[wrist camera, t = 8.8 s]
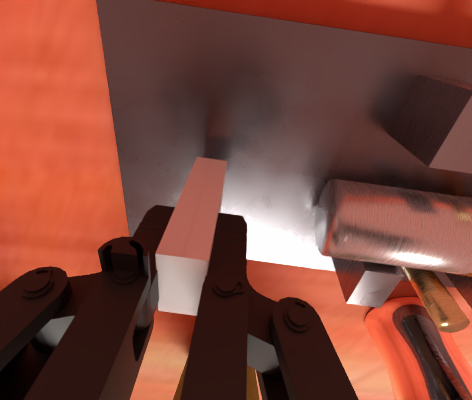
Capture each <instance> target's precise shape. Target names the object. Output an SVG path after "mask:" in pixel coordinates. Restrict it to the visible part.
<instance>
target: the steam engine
mask: <svg viewBox="0 0 472 400" xmlns="http://www.w3.org/2000/svg"><path fill="white" fill-rule="evenodd" d="M96 2H97V9H98V16H99V23H100V30H101V37H102V44H103V51H104V58H105V66H106V73H107V80H108V87H109V94H110V101H111V108H112V115H113V122H114V129H115V136H116V143H117V150H118V157H119V164H120V171H121V178H122V185H123V192H124V199H125V206H126V213H127V220H128V228H129V235H130V237H132V236H133V235H134V233H135V231H136V229H138V226H139V224H140V222H142V219H143V217H144V215H145V214H146V212H147V211H148V210H149V209H151V208H152V207H154V206H155V205H163V206H171V207H176V204H177V202H178V200H179V197H180V195H181V193H182V190H183V188H184V186H185V183H186V181H187V179H188V176H189V174H190V172H191V169H192V167H193V165H194V162H195V160H196V158H197V157H203V158H210V159H216V160H223V161H227V167H226V175H225V183H224V191H223V198H222V206H221V212H220V213H226V214H233V215H240V216H243V217H244V219H245V221H246V223H247V259H250V260H257V261H264V262H272V263H279V264H286V265H294V266H301V267H308V268H316V269H323V270H330V271H336V273H337V276H338V279H339V282H340V285H341V288H342V292H343V295H344V298H345V301H346V303H348V304H355V305H363V306H370V307H378V308H381V306H382V305H383V304H384V302H385V301H386V300H387V298H388V297H389V296H390V294H391V293H392V291H393V290H394V289H395V287H396V286H397V285H398V283H399V282H400V281H401V280H404V281H410V283H411V285H412V286H413V288H414V290H415V291H416V293H417V295H418V296H419V298H420V300H421V301H422V303H423V305H424V306H425V308H426V310H427V311H428V313H429V315H430V316H431V318H432V320H433V321H434V323H435V325H436V326H437V328H438V329H439V330H440V331H442V332H446V333H451V332H457V331H460V330H463V329H465V328H466V327H467V326H468V325H469V323H470V322H469V320H468V318H467V317H466V316H465V314H464V313H463V311H462V310H461V309H460V307H459V306H458V304H457V303H456V302H455V300H454V299H453V298H452V296H451V295H450V293H449V292H448V291H447V289H446V288H445V287H444V286H448V287H455V288H457V290H458V291H459V292H460V294H461V295H462V296H463V298H464V299H465V300H466V302H467V303H468V304H469V305H470V307H471V308H472V277H471V276H463V275H457V274H453V273H446V272H438V271H431V270H424V269H416V268H409V267H402V266H394V265H387V264H380V263H372V262H365V261H358V260H351V259H343V258H336V257H329V256H323V255H322V254H321V253H320V252H319V250H318V248H317V245H316V240H315V215H316V209H317V204H318V201H319V198H320V195H321V192H322V190H323V188H324V187H325V185H326V184H327V183H328V182H329V181H330V180H331V179H340V180H347V181H354V182H362V183H369V184H376V185H383V186H390V187H397V188H404V189H411V190H418V191H425V192H432V193H440V194H447V195H454V196H461V197H472V48H465V47H459V46H452V45H445V44H439V43H432V42H426V41H419V40H412V39H406V38H399V37H392V36H386V35H379V34H373V33H366V32H359V31H353V30H346V29H339V28H333V27H326V26H320V25H313V24H306V23H300V22H293V21H287V20H280V19H273V18H267V17H260V16H253V15H247V14H240V13H234V12H227V11H220V10H214V9H207V8H200V7H194V6H187V5H181V4H174V3H167V2H161V1H154V0H96Z"/></svg>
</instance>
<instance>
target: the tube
mask: <svg viewBox="0 0 472 400" xmlns="http://www.w3.org/2000/svg"><path fill="white" fill-rule="evenodd" d="M315 240H316V245H317V248H318V250H319V252H320V253H321V254H322V255H323V256H329V257H336V258H343V259H351V260H358V261H365V262H372V263H380V264H387V265H394V266H402V267H409V268H416V269H424V270H431V271H438V272H446V273H453V274H457V275H463V276H471V277H472V197H461V196H454V195H447V194H440V193H432V192H425V191H418V190H411V189H404V188H397V187H390V186H383V185H376V184H369V183H362V182H354V181H347V180H340V179H331V180H330V181H329V182H328V183H327V184H326V185H325V187H324V188H323V190H322V192H321V195H320V198H319V201H318V204H317V209H316V215H315Z"/></svg>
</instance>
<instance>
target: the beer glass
mask: <svg viewBox="0 0 472 400" xmlns="http://www.w3.org/2000/svg"><path fill="white" fill-rule="evenodd" d="M365 327H366V329H367V331H368V333H369V335H370V336H371V338H372V340H373V342H374V343H375V345H376V347H377V348H378V350H379V352H380V354H381V356H382V359H383V361H384V363H385V366H386V369H387V372H388V375H389V378H390V382H391V386H392V390H393V394H394V399H395V400H472V367H471V366H470V364H469V363H468V361H467V360H466V359H465V357H464V356H463V354H462V353H461V351H460V350H459V348H458V346H457V345H456V343H455V341H454V339H453V337H452V335H451V333H446V332H442V331H440V330H439V329H438V328H437V326H436V325H435V323H434V321H433V320H432V318H431V316H430V315H429V313H428V311H427V310H426V308H425V306H424V305H423V303H422V301H421V300H420V298H419V297H400V298H395V299H391V300H388V301H385V302H384V304H383V305H382V306H381V308H378V307H374V308H373V309H371V310H370V311H369V313H368V314H367V316H366V318H365Z"/></svg>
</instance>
